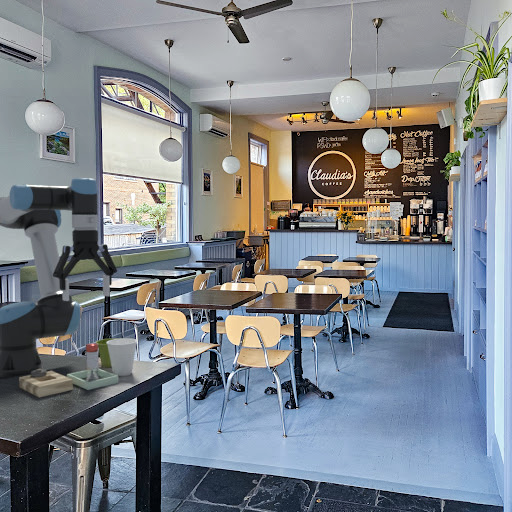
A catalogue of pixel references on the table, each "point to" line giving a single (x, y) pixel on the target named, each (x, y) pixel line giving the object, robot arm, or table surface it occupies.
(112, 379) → the tray
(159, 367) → the table surface
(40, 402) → the table surface
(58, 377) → the wooden block with hole
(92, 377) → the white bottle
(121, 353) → the cup
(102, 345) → the plant pot
